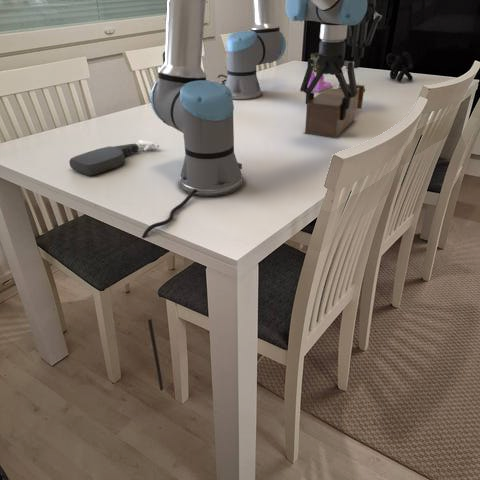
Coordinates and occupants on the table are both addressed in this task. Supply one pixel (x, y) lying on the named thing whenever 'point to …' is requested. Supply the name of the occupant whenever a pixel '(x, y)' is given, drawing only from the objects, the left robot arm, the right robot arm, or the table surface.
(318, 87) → the bracket
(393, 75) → the squiggle
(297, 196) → the table surface
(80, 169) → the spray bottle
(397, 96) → the table surface
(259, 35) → the right robot arm
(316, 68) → the olive tapered piece
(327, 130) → the brown rectangular box
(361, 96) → the drawer
